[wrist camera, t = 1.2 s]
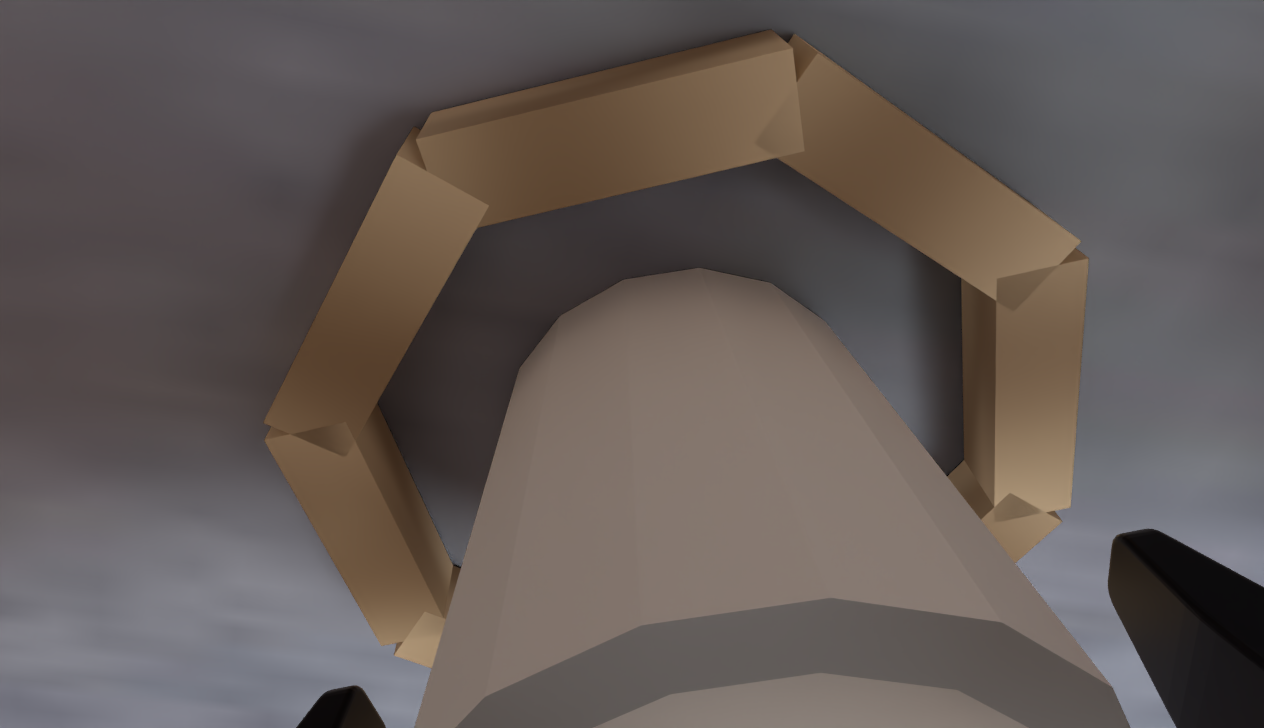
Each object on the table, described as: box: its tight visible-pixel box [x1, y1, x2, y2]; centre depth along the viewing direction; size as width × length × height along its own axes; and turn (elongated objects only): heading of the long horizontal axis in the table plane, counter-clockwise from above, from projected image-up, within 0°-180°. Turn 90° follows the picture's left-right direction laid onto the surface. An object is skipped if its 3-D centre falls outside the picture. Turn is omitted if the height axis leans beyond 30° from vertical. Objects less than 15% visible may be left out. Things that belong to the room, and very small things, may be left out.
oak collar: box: [263, 29, 1089, 668], centre depth 13 cm, size 11×11×1 cm
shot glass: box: [414, 268, 1130, 728], centre depth 10 cm, size 7×7×7 cm
